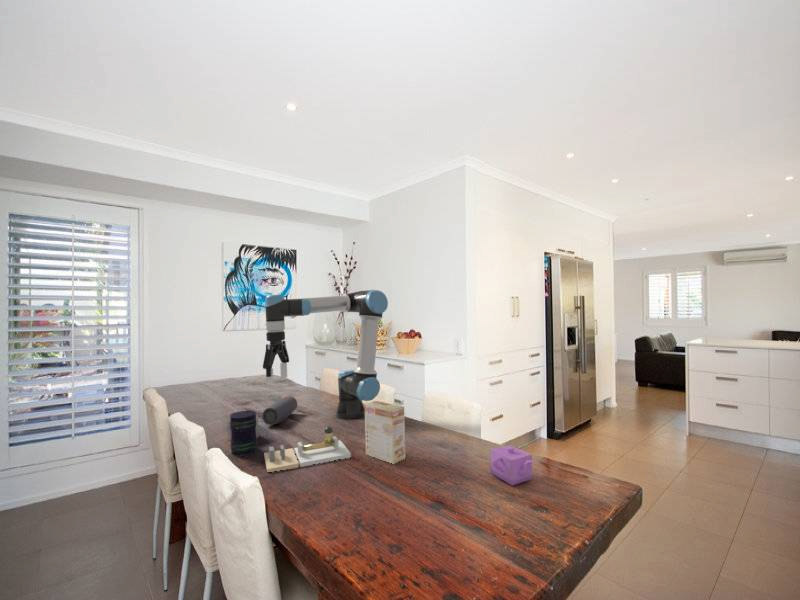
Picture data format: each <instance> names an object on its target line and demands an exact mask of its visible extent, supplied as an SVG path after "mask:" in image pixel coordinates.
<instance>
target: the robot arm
mask: <svg viewBox="0 0 800 600" xmlns="http://www.w3.org/2000/svg"><path fill="white" fill-rule="evenodd" d="M284 297H285V295H283V294H269V295H267V296H265V301H264V303H265V304H264V307H265V327H266V335H265V336H266V342H267V341H268V342H269V343H268V344H267V343H266V344H265V353H264V358H263V362H262V363H263V364H262V368H263V369H264V370H265V378H266V379H265V383H266V385H269V386H270V385H271V386H272V385H274V368H272V367H273V364H274V362H275V358H276V356H278V358H279V360H280V367H279V368H280V379H284V378H285V379H287V378H288V364H287V363H289V362H290V357H289V352H288V349H287V345H286V340H285V339H286V332H285V330H286V324H285V318H287V317H304V316H308V315H310V314H317V313H318V314H319V313H329V312H330V313H331V312H344V313H358V317H359V318H360V319H361V323H360V325H361V326H360V332H359V333H360V334H359V343H358V344H359V345H358V355H357V363H356V368H355V369H349V370H342V371H340V372H338V374H337V375H338V376H337V383H338V385H337V386H338V403H337V407H336V410H335V417H336V418H338V419H343V420H351V419H352V420H353V419H358V418H361V417H363V416H364V417H365V404H364V403H363V401H365V402H368V401H372V400H374V399H375V398H376V397H377V396H378V395H379V393H380V390H381V383H380V380H378V379H377V376H378V372H377V371H376V370H375V366H376V355H377V344H378V335H379V334H378V333H379V325H380V324H379V322H380V320H382V319H383V313H385V312H386V310H387V309H388V305H389V301H388V298H387V295H386V294H385V293H384V292H383V291H381V290H378V289H370V290H367V289H366V290H358V291H354V292H350V293H343V294H342V295H336V296H319V297H318V296H317V297H305V298H290V299H289V298H287V299H286V298H284Z"/></svg>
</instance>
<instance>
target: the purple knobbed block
mask: <svg viewBox="0 0 800 600" xmlns="http://www.w3.org/2000/svg"><path fill="white" fill-rule="evenodd" d="M489 453H490V454H489V457H490V474H491V475H493V476H495V477H497V479H500V480H501V481H504V482H505V483H507V484H508V485H510V486H515V485H519V484H522V483H525V482H527V481H528V482H529V481H531V480H533V463H534V461H533V456H532V454H530V453H528V452H526V451H524V450H523V449H519V448H517V447H515V446H513V445H510V444H508V445H505V446H501V447H493V449H490V450H489Z"/></svg>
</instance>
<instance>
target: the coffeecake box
mask: <svg viewBox="0 0 800 600" xmlns="http://www.w3.org/2000/svg"><path fill="white" fill-rule="evenodd" d="M364 408H365V415H364V434H365V436H364V437H365V455H366V456H368V457H369V456H370V457H372V458H374V457H375V459H378V460H381V461H383V462H385V461H386V463H388V462H389V463H388V464H391V463H392V464H391V465H396V464H397V463H399V461H400V462H401V460H402V461H404V460H406V459H405V458H406V431H405V430H406V428H405V422H406V421H405V406H403V405H398V404H393V403H389V402H383V401H379V400H375V401H372V402H369V403H365V404H364ZM403 459H404V460H403Z"/></svg>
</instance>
